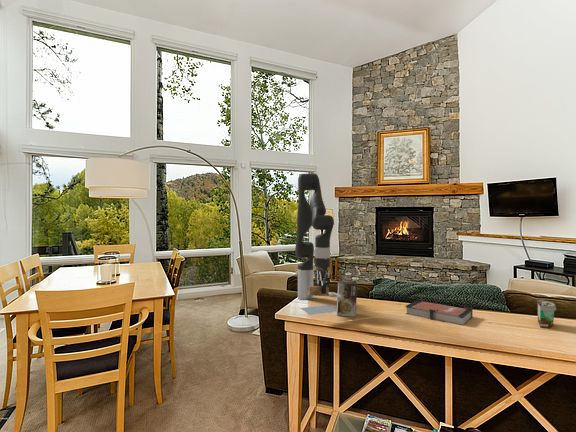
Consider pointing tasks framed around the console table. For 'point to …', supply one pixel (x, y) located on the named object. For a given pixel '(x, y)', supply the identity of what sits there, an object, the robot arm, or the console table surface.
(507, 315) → the console table surface
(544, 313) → the food container
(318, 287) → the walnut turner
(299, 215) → the robot arm
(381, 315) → the console table surface
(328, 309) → the slate mat
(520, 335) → the console table surface
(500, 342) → the console table surface
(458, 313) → the book
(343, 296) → the coffee box
